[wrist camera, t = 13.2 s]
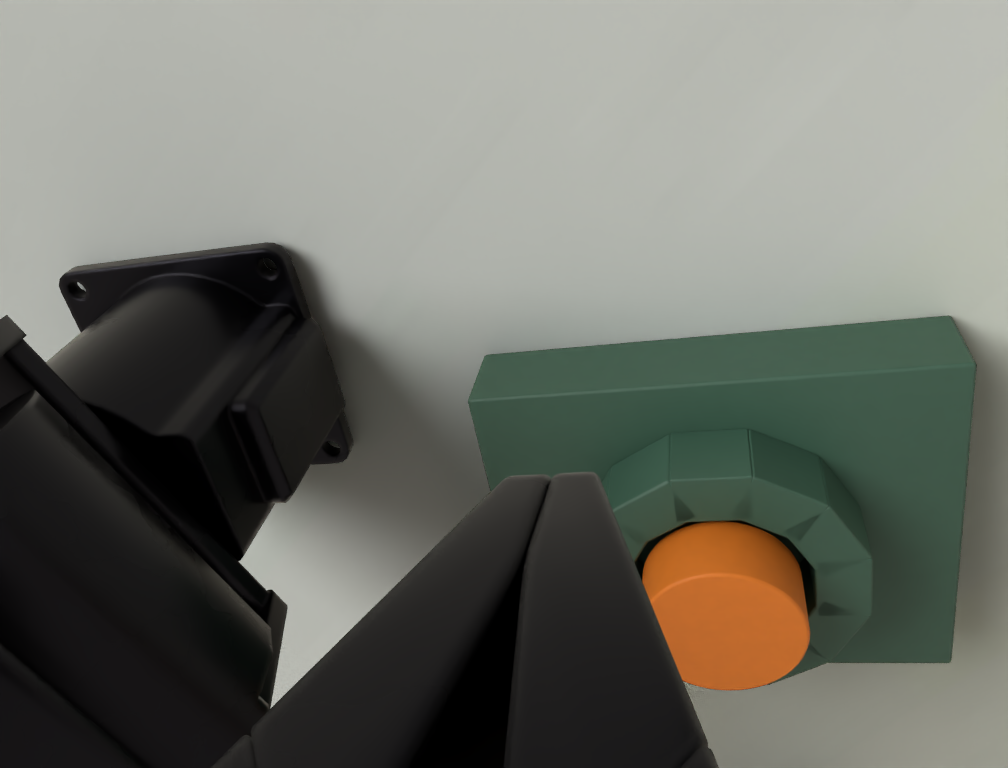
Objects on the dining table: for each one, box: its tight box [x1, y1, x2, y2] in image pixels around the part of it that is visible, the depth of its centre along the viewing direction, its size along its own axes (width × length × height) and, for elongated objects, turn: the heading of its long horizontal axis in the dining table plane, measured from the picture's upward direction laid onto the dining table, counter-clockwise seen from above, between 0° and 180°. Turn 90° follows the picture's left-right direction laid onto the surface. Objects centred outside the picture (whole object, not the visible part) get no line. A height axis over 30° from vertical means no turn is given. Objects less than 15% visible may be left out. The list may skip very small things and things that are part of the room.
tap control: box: [468, 316, 977, 686], centre depth 22 cm, size 11×9×4 cm
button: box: [642, 521, 810, 690], centre depth 20 cm, size 4×4×2 cm
